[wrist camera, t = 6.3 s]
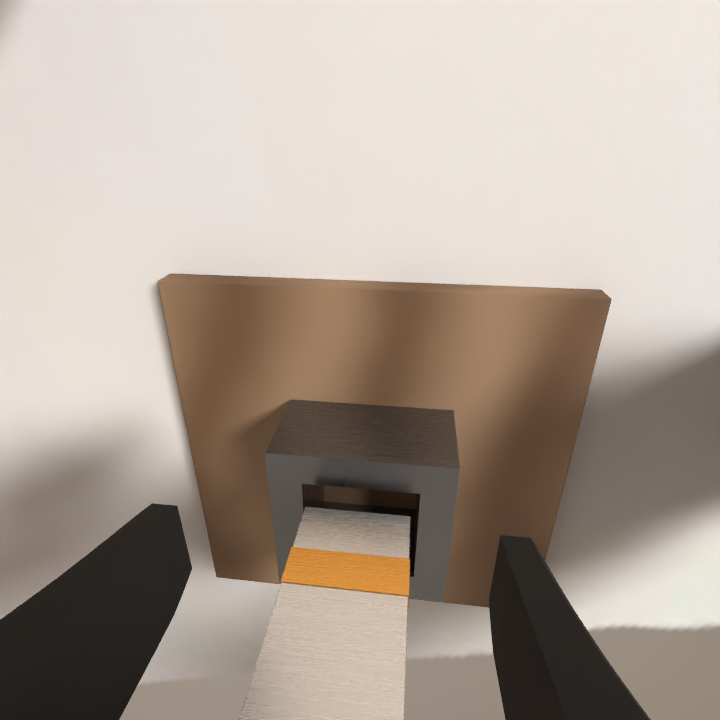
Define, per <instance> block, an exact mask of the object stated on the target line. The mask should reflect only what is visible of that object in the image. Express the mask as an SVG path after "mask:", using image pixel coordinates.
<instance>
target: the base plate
mask: <svg viewBox="0 0 720 720" xmlns="http://www.w3.org/2000/svg"><path fill="white" fill-rule="evenodd" d="M158 286H159V291H160V296H161V301H162V306H163V311H164V316H165V321H166V326H167V331H168V336H169V341H170V346H171V351H172V356H173V361H174V366H175V371H176V376H177V381H178V386H179V391H180V396H181V401H182V406H183V411H184V416H185V421H186V426H187V431H188V436H189V441H190V446H191V451H192V456H193V461H194V466H195V471H196V476H197V481H198V486H199V491H200V496H201V501H202V506H203V511H204V516H205V521H206V526H207V531H208V536H209V541H210V546H211V551H212V556H213V561H214V566H215V571H216V576H217V577H221V578H230V579H239V580H248V581H257V582H266V583H275V584H279V576H278V567H277V558H276V549H275V540H274V531H273V522H272V513H271V504H270V495H269V487H268V478H267V469H266V460H265V451H266V449H267V447H268V445H269V443H270V441H271V439H272V437H273V435H274V433H275V431H276V429H277V427H278V425H279V423H280V421H281V419H282V417H283V415H284V413H285V411H286V409H287V407H288V405H289V403H290V400H291V399H293V400H308V401H323V402H338V403H353V404H368V405H383V406H398V407H413V408H428V409H443V410H454V417H455V427H456V436H457V445H458V455H459V464H460V473H459V481H458V489H457V497H456V505H455V513H454V521H453V529H452V537H451V545H450V553H449V561H448V569H447V577H446V586H445V594H444V602H445V603H454V604H463V605H472V606H481V607H489V596H490V590H491V584H492V579H493V573H494V568H495V562H496V557H497V551H498V546H499V540H500V535H506V536H517V537H528V538H531V539H532V540H533V541H534V542H535V544H536V546H537V548H538V549H539V551H540V553H541V555H542V557H543V559H544V560H545V557H546V553H547V549H548V545H549V541H550V537H551V533H552V530H553V526H554V522H555V518H556V514H557V510H558V506H559V502H560V498H561V494H562V491H563V487H564V483H565V479H566V475H567V471H568V467H569V463H570V459H571V455H572V451H573V448H574V444H575V440H576V436H577V432H578V428H579V424H580V420H581V416H582V412H583V409H584V405H585V401H586V397H587V393H588V389H589V385H590V381H591V377H592V373H593V370H594V366H595V362H596V358H597V354H598V350H599V346H600V342H601V338H602V334H603V331H604V327H605V323H606V319H607V315H608V311H609V307H610V303H611V298H610V297H609V296H607V295H606V294H605V293H604V292H603V291H602V290H591V289H564V288H537V287H511V286H484V285H458V284H431V283H404V282H378V281H351V280H325V279H298V278H271V277H245V276H218V275H192V274H169V275H168V276H166V277H164V278H162V279H161V280H159V281H158ZM324 501H328V502H339V503H350V504H362V505H373V506H384V507H395V508H406V509H415V507H416V493H405V492H393V491H382V490H370V489H358V488H347V487H335V486H324ZM410 599H414V598H410ZM419 600H423V599H419ZM428 601H432V600H428ZM437 602H441V601H437Z"/></svg>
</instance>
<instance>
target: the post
mask: <svg viewBox="0 0 720 720" xmlns="http://www.w3.org/2000/svg"><path fill="white" fill-rule="evenodd" d="M409 544H410V516H400V515H389V514H378V513H367V512H357V511H346V510H335V509H324V508H313V507H305V509H304V513H303V516H302V519H301V522H300V525H299V529H298V532H297V535H296V538H295V541H294V545H293V547H291V550H290V553H289V556H288V560H287V563H286V566H285V569H284V572H283V575H282V579H281V586H280V589H279V593H278V596H277V599H276V602H275V605H274V609H273V612H272V615H271V618H270V621H269V624H268V628H267V631H266V634H265V637H264V640H263V644H262V647H261V650H260V653H259V656H258V660H257V663H256V666H255V669H254V672H253V676H252V679H251V682H250V685H249V688H248V692H247V696H246V698H245V701H244V705H243V708H242V711H241V714H240V717H239V720H404V691H405V661H406V632H407V615H408V601H409V576H410V559H409Z"/></svg>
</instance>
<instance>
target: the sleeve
mask: <svg viewBox="0 0 720 720" xmlns="http://www.w3.org/2000/svg"><path fill="white" fill-rule="evenodd" d="M265 460H266V469H267V478H268V487H269V495H270V504H271V513H272V522H273V531H274V540H275V549H276V558H277V567H278V576H279V584H281V579H282V575H283V572H284V569H285V566H286V563H287V560H288V556H289V553H290V550H291V547H293V545H294V541H295V538H296V535H297V532H298V529H299V525H300V522H301V519H302V516H303V513H304V509H305V507H313V508H324V509H335V510H346V511H357V512H367V513H378V514H389V515H400V516H410V544H409V559H410V576H409V598H414V599H423V600H432V601H441V602H444V594H445V586H446V577H447V569H448V561H449V553H450V545H451V537H452V529H453V521H454V513H455V505H456V497H457V489H458V481H459V473H460V464H459V455H458V445H457V436H456V427H455V417H454V410H443V409H428V408H413V407H398V406H383V405H368V404H353V403H338V402H323V401H308V400H293V399H291V400H290V403H289V405H288V407H287V409H286V411H285V413H284V415H283V417H282V419H281V421H280V423H279V425H278V427H277V429H276V431H275V433H274V435H273V437H272V439H271V441H270V443H269V445H268V447H267V449H266V451H265ZM324 486H335V487H347V488H358V489H370V490H382V491H393V492H405V493H416V507H415V509H406V508H395V507H384V506H373V505H362V504H350V503H339V502H328V501H324Z"/></svg>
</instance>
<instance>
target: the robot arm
mask: <svg viewBox="0 0 720 720" xmlns="http://www.w3.org/2000/svg"><path fill="white" fill-rule="evenodd" d="M191 570H192V566H191V562H190V558H189V554H188V549H187V545H186V541H185V537H184V533H183V529H182V524H181V520H180V516H179V512H178V508H177V506H173V505H162V504H151V505H150V506H148V507H147V508H146V509H144V510H143V511H142V512H140V513H139V514H138V515H137V516H135V517H134V518H133V519H132V520H130V521H129V522H128V523H127V524H125V525H124V526H123V527H122V528H120V529H119V530H118V531H117V532H115V533H114V534H113V535H112V536H110V537H109V538H108V539H107V540H105V541H104V542H103V543H102V544H100V545H99V546H98V547H97V548H95V549H94V550H93V551H92V552H90V553H89V554H88V555H86V556H85V557H84V558H83V559H81V560H80V561H79V562H77V563H76V564H75V565H74V566H72V567H71V568H70V569H69V570H67V571H66V572H65V573H63V574H62V575H61V576H60V577H58V578H57V579H56V580H54V581H53V582H51V583H50V584H49V585H47V586H46V587H45V588H43V589H42V590H41V591H39V592H38V593H36V594H35V595H34V596H32V597H31V598H30V599H28V600H27V601H25V602H24V603H23V604H21V605H20V606H19V607H17V608H16V609H15V610H13V611H12V612H10V613H9V614H8V615H6V616H5V617H4V618H2V619H1V620H0V720H119V719H120V717H121V715H122V713H123V711H124V709H125V708H126V705H127V704H128V702H129V700H130V698H131V696H132V694H133V692H134V690H135V689H136V687H137V685H138V683H139V681H140V679H141V677H142V675H143V673H144V672H145V670H146V668H147V666H148V664H149V662H150V660H151V658H152V656H153V655H154V653H155V651H156V649H157V647H158V645H159V643H160V641H161V639H162V637H163V635H164V633H165V631H166V630H167V628H168V626H169V624H170V622H171V620H172V618H173V616H174V614H175V611H176V609H177V606H178V604H179V601H180V599H181V596H182V594H183V591H184V589H185V586H186V583H187V581H188V578H189V575H190V573H191ZM489 609H490V621H491V633H492V644H493V653H494V659H495V665H496V670H497V676H498V681H499V687H500V692H501V697H502V703H503V708H504V713H505V719H506V720H650V718H649V717H648V716H647V714H646V713H645V712H644V710H643V709H642V708H641V706H640V705H639V704H638V702H637V701H636V700H635V698H634V697H633V695H632V694H631V693H630V691H629V690H628V688H627V687H626V686H625V684H624V683H623V682H622V680H621V679H620V677H619V676H618V675H617V674H616V672H615V670H614V669H613V668H612V666H611V665H610V663H609V662H608V660H607V659H606V658H605V656H604V655H603V653H602V652H601V650H600V649H599V647H598V646H597V644H596V643H595V641H594V640H593V638H592V637H591V635H590V634H589V632H588V630H587V629H586V627H585V626H584V624H583V623H582V621H581V620H580V618H579V617H578V615H577V614H576V612H575V611H574V609H573V607H572V606H571V604H570V603H569V601H568V599H567V598H566V596H565V594H564V593H563V591H562V589H561V588H560V586H559V584H558V583H557V581H556V579H555V578H554V576H553V574H552V573H551V571H550V569H549V567H548V566H547V564H546V562H545V560H544V559H543V557H542V555H541V553H540V551H539V549H538V548H537V546H536V544H535V542H534V541H533V540H532V539H531V538H528V537H517V536H506V535H500V540H499V546H498V551H497V557H496V562H495V568H494V573H493V579H492V584H491V590H490V596H489Z"/></svg>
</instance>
